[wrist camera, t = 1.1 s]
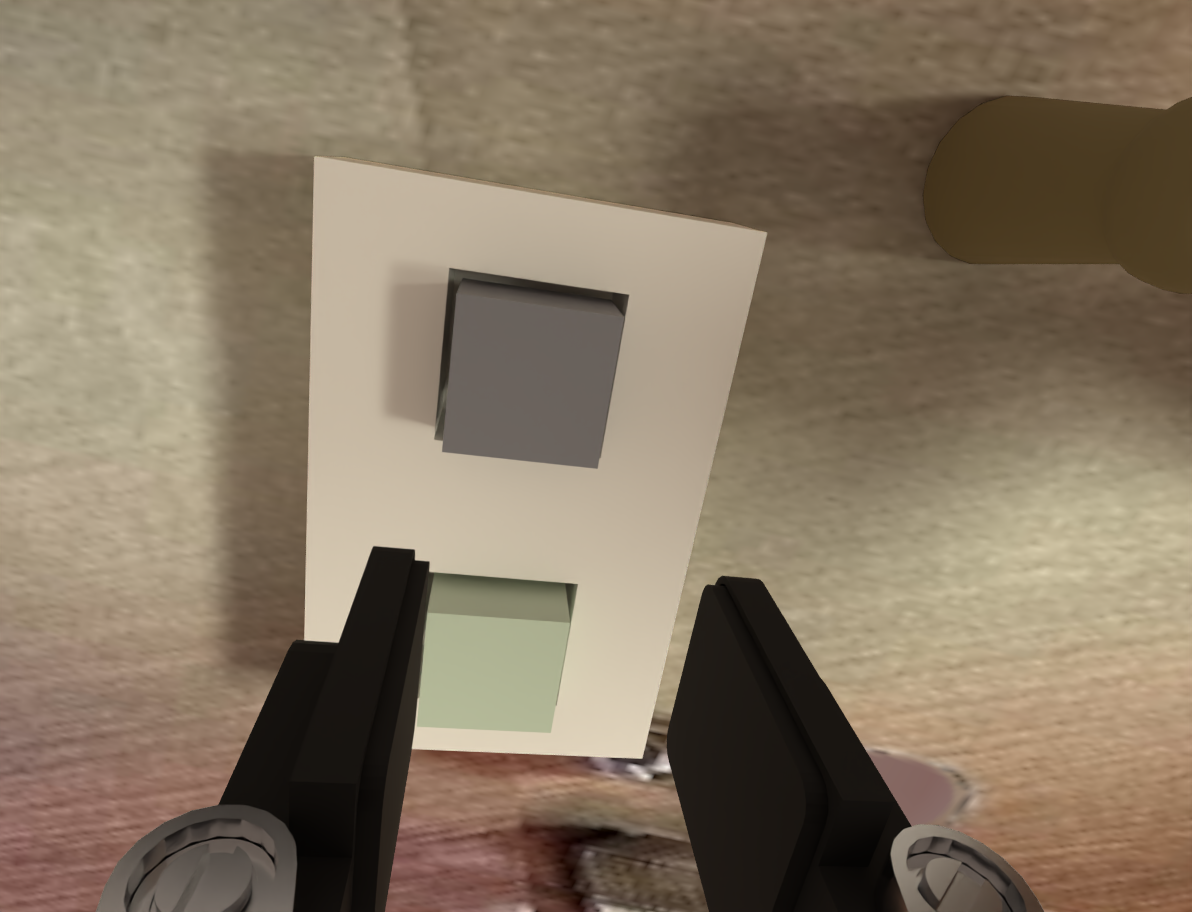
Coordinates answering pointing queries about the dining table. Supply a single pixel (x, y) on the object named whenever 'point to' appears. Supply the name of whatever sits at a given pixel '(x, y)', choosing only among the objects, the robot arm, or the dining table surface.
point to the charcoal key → (530, 374)
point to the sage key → (493, 653)
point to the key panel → (503, 486)
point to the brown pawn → (1067, 187)
